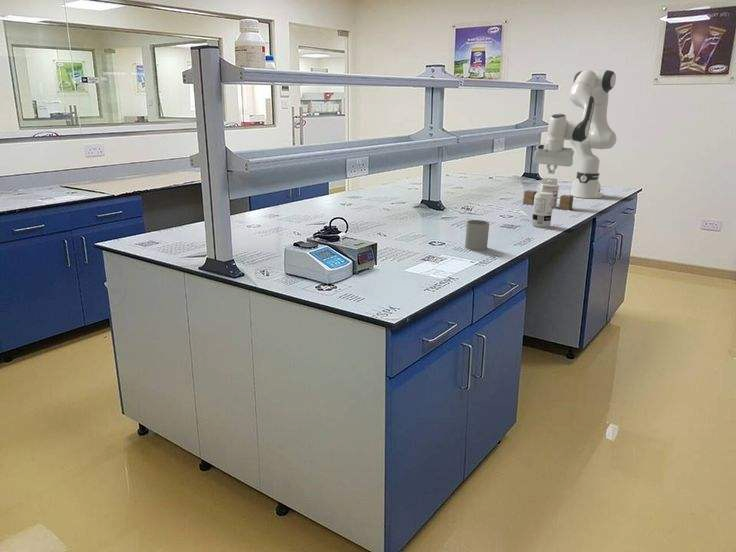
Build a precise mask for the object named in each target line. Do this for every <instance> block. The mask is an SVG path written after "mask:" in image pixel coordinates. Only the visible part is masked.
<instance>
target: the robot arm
mask: <svg viewBox="0 0 736 552" xmlns="http://www.w3.org/2000/svg"><path fill="white" fill-rule="evenodd" d="M616 80H617V75H616V73H615V72H614V71H612V70H608V69H607V70H604V69H592V70H591V69H584V70H580V71H578V72H577V73H576V74H574V77H573V82H572V83H573V84H572V87H571V88H570V90H569V100H570V102H572V104H573V105H574V106H576V107H578V108H581V109H583V113H582V116H581V119H580V120H578V121H574V120H567V116H566V115H565V114H564V113H556V114H552V115H551V116H550V118H549V122H548V125H547V126H548V127H547V136H546V137H547V138H546V141H545V142H543V143H541V144H536V147H535V148H536V150H534V155H533V159H532V162H533V163H534V164H537V165H538V164H540V165H546V168H547V174H548V175H549V174H551V175H555V171H556V170H557V169H558V166H560V167H572V166H573V162H574V158H573V157H574V153H575V151H574V149H575V150H576V152H577V154H578V169H577V172H576V179H574V180H573V181H572V186H571V191H570V192H568V195H569V196H574V197H576V198H582V199H601V198H602V197H603V196H604V193H602V192H601V188H602V187H601V183H600V182H599V177H600V174H601V173H600V172H599V168H600V167H599V166H600V161H601V160H600V159H599V157H598V156H597V155H595V154H594V153H593V151H592V150H593V149H595V150H608V149H612V148H613V147H614V146H615V144H616V143H617V134H616V132H615V131H613V129H611V127H610V125H609V124H608V123H609V122H608V117H607V116H608V104H609V92H610V91H612V89H613V88H614V86H615V85H616ZM591 124H592V125H593V128H591ZM565 141H570V144H571V146H573V147H574V149H572V148H571V147H565V145H564V144H565ZM551 167H553V169H551Z"/></svg>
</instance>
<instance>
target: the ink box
mask: <svg viewBox="0 0 736 552" xmlns="http://www.w3.org/2000/svg"><path fill="white" fill-rule="evenodd" d="M540 183H541V184H540V189H539V192H550V193H553V196H554V200H553V207H552V208H557V203H558V194H559V185H558V178H551V177H550V178H549V177H546V178H545V177H542V178H541V182H540Z"/></svg>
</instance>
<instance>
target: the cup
mask: <svg viewBox="0 0 736 552" xmlns="http://www.w3.org/2000/svg"><path fill="white" fill-rule="evenodd" d="M465 228H466V230H465V239H464V240H465V241H464V249H466V250H470V251H474V252H475V251H476V252H478V251H479V252H483V251H486V250H487V249H488V242H489V232H490V222H489V221H486V220H481V219H480V220H479V219H470V220H467V221H466V227H465Z"/></svg>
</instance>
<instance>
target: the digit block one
mask: <svg viewBox="0 0 736 552" xmlns="http://www.w3.org/2000/svg"><path fill="white" fill-rule="evenodd" d="M574 197H575V196H572V195H569V194H567V195H566V194H562V195H560V199H559V205H558V210H560V209H561V210H563V211H567V210H569V211H572V209H573V203H574Z"/></svg>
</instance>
